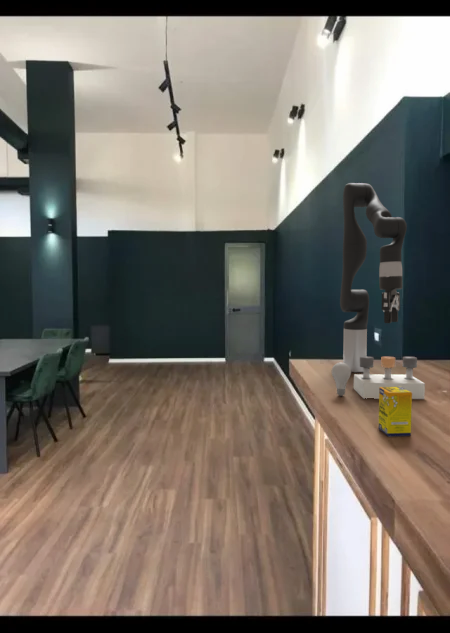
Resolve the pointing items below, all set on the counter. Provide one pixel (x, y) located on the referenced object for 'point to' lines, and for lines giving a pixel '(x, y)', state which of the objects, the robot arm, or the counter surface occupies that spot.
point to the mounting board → (387, 385)
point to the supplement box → (395, 411)
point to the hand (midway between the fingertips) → (391, 322)
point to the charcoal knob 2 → (409, 366)
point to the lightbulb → (341, 376)
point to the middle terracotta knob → (388, 366)
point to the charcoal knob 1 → (366, 365)
